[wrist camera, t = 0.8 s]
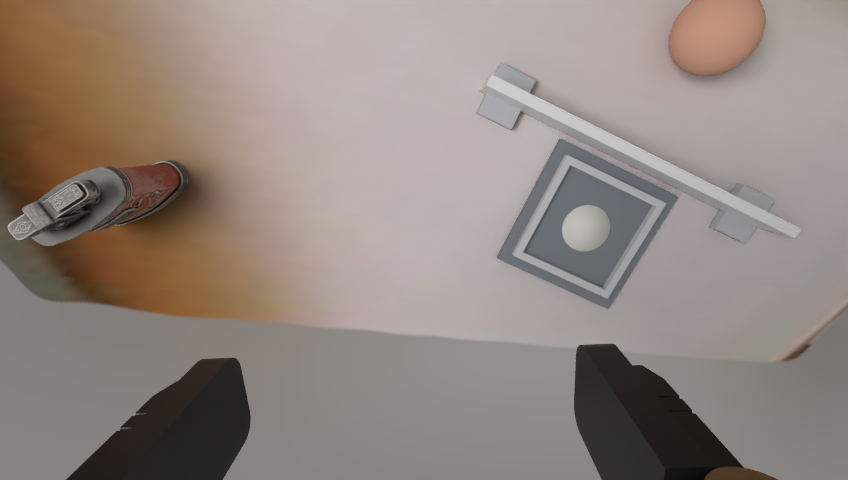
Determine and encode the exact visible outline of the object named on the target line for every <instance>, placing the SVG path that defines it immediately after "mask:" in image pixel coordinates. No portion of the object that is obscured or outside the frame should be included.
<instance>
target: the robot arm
mask: <svg viewBox="0 0 848 480" xmlns="http://www.w3.org/2000/svg"><path fill="white" fill-rule="evenodd" d="M574 410H575V417H576V422H577V426H578V429H579V432H580V434H581V436H582V438H583V441H584V442H585V445H586V447H587V449H588V451H589V453H590V455H591V458H592V460H593V462H594V464H595V466H596V468H597V470H598V473H599V475H600V477H601V479H602V480H778V479H776V478H774V477H771V476H769V475H766V474H764V473H761V472H758V471H754V470H751V469H746V468H744V467H743V466H742V465H741V464H740V463H739V462H738V461H737V459H736V458H735V457H734V456H733V455H732V454H731V453H730V452H729V451H728V449H727V448H725V446H724V445H723V444H722V443H721V442H720V441H719V440H718V438H717V437H716V436H715V435H714V434H713V433H712V432H711V431H710V430H709V428H708V427H707V426H706V425H705V424H704V423H703V422H702V421H701V420H700V418H698V416H697V415H696V414H693V413H692V410H691V408H690V407H689V406H688V405H687V404H686V403H685V402H684V401H683V400H682V399H679V395H678V394H677V393H676V392H675V391H674V390H673V388H672V387H671V386H670V385H669V384H668V383H667V382H666V381H665V380H664V379H663V378H662V377H660V376H658V375H657V374H655V373H654V372H652V371H650V370H649V369H647V368H645V367H644V366H642V365H634V366H632V365H631V363H630V362H629V361H628V360H627V359H626V357H625V356H624V355H623V354H622V352H621V351H620V350H619V349H618V347H617V346H616V345H614V344H594V345H579V346H578V348H577V353H576V372H575V394H574ZM249 428H250V410H249V405H248V401H247V395H246V390H245V385H244V380H243V375H242V370H241V366H240V363H239V362H238V360H237V359H235V358H217V359H202V360H200V361H198V362H197V363H196V364H195V365H194V366H193V367H192V368H191V369H190V370H189V371H188V372H187V373H186V374H185V375H184V376H183V377H182V378H181V379H180V380H179V381H177V382H175V383H174V384H172V385H170V386H169V387H167V388H165V389H164V390H162V391H160V392H159V393H157V394H156V395H154V396H153V397H152V398H151V399H150V400H149V401H147V402H146V403H145V404H144V405H143V406H142V407H141V408H140V409H139V410H138V411H137V412H136V415H135V416H132V417H131V418H130V419H129V420H128V421H127V422H126V423H125V424H124V425H123V426H121V430H120V431H116V433H114V434H113V435H112V436H111V437H110V438H109V439H108V440H107V441H106V442H105V443H104V444H103V445H102V446H101V447H100V448H99V449H98V450H97V451H95V453H93V454H92V455H91V456H90V457H89V458H88V459H87V460H86V461H85V462H84V463H83V464H82V465H81V466H80V467H79V468H78V469H77V470H76V471H75V472H74V473H73V474H72V475H71V476H70V477H68V479H66V480H223V478H224V476H225V475H226V473H227V471H228V470H229V468H230V466H231V465H232V463H233V461H234V460H235V458H236V456H237V455H238V453H239V451H240V450H241V448H242V446H243V445H244V443H245V441H246V439H247V436H248V433H249Z"/></svg>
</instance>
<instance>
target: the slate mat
mask: <svg viewBox="0 0 848 480" xmlns="http://www.w3.org/2000/svg"><path fill="white" fill-rule="evenodd" d="M677 198H678V197H677V196H675V195H673V194H671V193H669V192H667V191H665V190H663V189H661V188H659V187H657V186H655V185H653V184H651V183H649V182H647V181H645V180H643V179H640V178H638V177H636V176H634V175H632V174H630V173H628V172H626V171H624V170H622V169H620V168H618V167H616V166H614V165H612V164H610V163H608V162H606V161H604V160H602V159H600V158H598V157H596V156H594V155H592V154H590V153H588V152H586V151H584V150H581V149H579V148H577V147H575V146H573V145H571V144H569V143H567V142H565V141H563V140H561V139H559V141H558V143H557V145H556V147H555V148H554V150H553V152H552V154H551V156H550V158H549V160H548V162H547V164H546V165H545V167H544V169H543V171H542V173H541V175H540V177H539V179H538V181H537V182H536V184H535V186H534V188H533V190H532V192H531V194H530V196H529V198H528V199H527V201H526V203H525V205H524V207H523V209H522V211H521V213H520V215H519V216H518V218H517V220H516V222H515V224H514V226H513V228H512V230H511V231H510V233H509V235H508V237H507V239H506V241H505V243H504V245H503V247H502V248H501V250H500V252H499V254H498V256H497V258H498V259H500V260H502V261H504V262H507V263H509V264H511V265H513V266H515V267H517V268H520V269H522V270H524V271H526V272H528V273H531V274H533V275H535V276H537V277H539V278H542V279H544V280H546V281H548V282H550V283H553V284H555V285H557V286H559V287H561V288H564V289H566V290H568V291H570V292H572V293H575V294H577V295H579V296H581V297H583V298H586V299H588V300H590V301H592V302H594V303H597V304H599V305H601V306H603V307H605V308H608V309H609V307H610V305H611V304H612V302H613V300H614V299H615V297H616V296H617V294H618V292H619V291H620V289H621V288H622V286H623V284H624V283H625V281H626V280H627V278H628V276H629V275H630V273H631V272H632V270H633V268H634V267H635V265H636V264H637V262H638V260H639V259H640V257H641V255H642V254H643V252H644V251H645V249H646V247H647V246H648V244H649V243H650V241H651V239H652V238H653V236H654V235H655V233H656V231H657V230H658V228H659V227H660V225H661V223H662V222H663V220H664V219H665V217H666V215H667V214H668V212H669V210H670V209H671V207H672V206H673V204H674V202H675V201H676V199H677Z"/></svg>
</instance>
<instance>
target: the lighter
mask: <svg viewBox="0 0 848 480" xmlns="http://www.w3.org/2000/svg"><path fill="white" fill-rule="evenodd" d="M187 185H188V175H187V172H186V171H185V169H184V168H183V167H182V166H181V165H180V164H179V163H177V162H175V161H162V162H158V163H155V164H152V165H147V166H138V167H128V168H119V169H117V168H114V167H111V166H109V167H100V168H95V169H92V170H89V171H86V172H84V173H81V174H78V175H76V176H74V177H72V178H70V179H68V180H66V181H65V182H63V183H61V184H59V185H57V186H56V187H54V188H53V189H52V190H51V191H49V192H48V193H47V194H46V195H44V196H43V197H42V198H41V199H39V200H38V201H35V202H33V203H30V204H28V205H27V206H25V207H24V208H22V210H23V212H24V213H25V214H23V215H22V216H20V217H19V218H17V219H16V220H14V221H13V222H11V223H10V224H9V225H8V230H9V232H10V233H11V234H12V235H13V236H14V237H15V238H16V239H18V240H22V239H26V238H30V237H31V238H32V239H33V240H34V241H36V242H37V243H39V244H41V245H45V246H51V245H55V244H59V243H62V242H65V241H68V240H71V239H73V238H76V237H79V236H81V235H83V234H85V233H87V232H91V231H99V230H102V229H106V228H109V227H111V226H113V225H116V226H119V225H124V224H128V223H131V222H133V221H136V220H139V219H142V218H145V217H147V216H149V215H151V214H153V213H155V212H156V211H158V210H160V209H162V208H163V207H164V206H166V205H167V204H168V203H170V202H171V201H172V200H174V199H175V198H176V197H177V196H178V195H179V194H180V193H181V192H182V191H183V190H184V189H185V188H186V186H187Z"/></svg>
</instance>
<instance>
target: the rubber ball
mask: <svg viewBox="0 0 848 480" xmlns="http://www.w3.org/2000/svg"><path fill="white" fill-rule="evenodd" d="M765 22H766V18H765V11H764V8H763V6H762V4H761V2H760V1H759V0H693V1H691V2H690V3H689V4H688V5H687V6H686V7H685V8H684V9H683V10H682V11H681V12H680V14H679V15H678V17H677V18H676V20H675V22H674V24H673V26H672V29H671V32H670V36H669V50H670V54H671V56H672V58H673V60H674V62H675V63H676V64H677V65H678V66H679V67H680V68H681V69H683V70H684V71H686V72H689V73H691V74H695V75H702V76H708V75H715V74H719V73H723V72H726V71H728V70H730V69H732V68H734V67H736V66H737V65H739V64H740V63H741V62H743V61H744V60H745V59H746V58H747V57H749V56H750V54H751V53H752V52H753V51H754V50H755V48H756V47H757V45H758V44H759V42H760V40H761V38H762V35H763V33H764V29H765Z"/></svg>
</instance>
